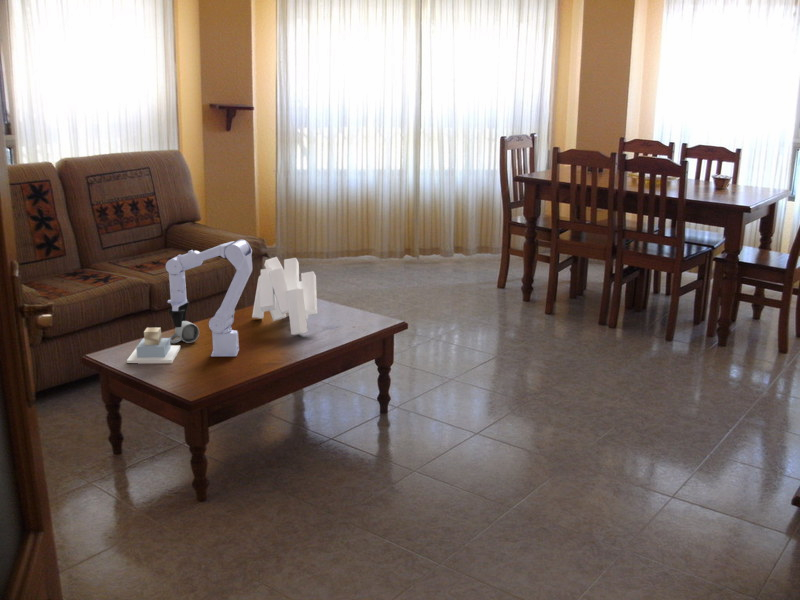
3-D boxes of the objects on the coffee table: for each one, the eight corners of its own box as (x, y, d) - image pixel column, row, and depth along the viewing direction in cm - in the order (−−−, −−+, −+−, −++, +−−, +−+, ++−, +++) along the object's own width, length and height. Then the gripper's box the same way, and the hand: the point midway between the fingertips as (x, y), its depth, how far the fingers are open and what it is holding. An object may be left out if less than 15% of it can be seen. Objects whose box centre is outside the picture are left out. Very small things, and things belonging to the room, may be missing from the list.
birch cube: (161, 340, 310) (160, 327, 309) (158, 344, 305) (157, 331, 304) (147, 340, 310) (146, 327, 308) (144, 344, 305) (143, 331, 304)
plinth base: (180, 348, 317) (179, 335, 316) (171, 363, 302) (170, 349, 300) (137, 348, 316) (136, 335, 315) (127, 363, 301) (125, 350, 299)
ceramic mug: (192, 335, 332) (190, 317, 330) (200, 341, 325) (198, 322, 323) (166, 341, 326) (164, 322, 323) (174, 346, 319) (172, 327, 317)
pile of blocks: (340, 340, 344) (342, 258, 352) (291, 329, 320) (294, 242, 328) (278, 347, 364) (281, 269, 371) (227, 337, 340) (232, 255, 347)
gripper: (171, 284, 315) (173, 318, 319) (162, 294, 301) (165, 330, 305) (190, 283, 316) (192, 318, 319) (182, 294, 302) (184, 329, 305)
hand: (180, 324), depth 312 cm, fingers open, 7 cm apart
